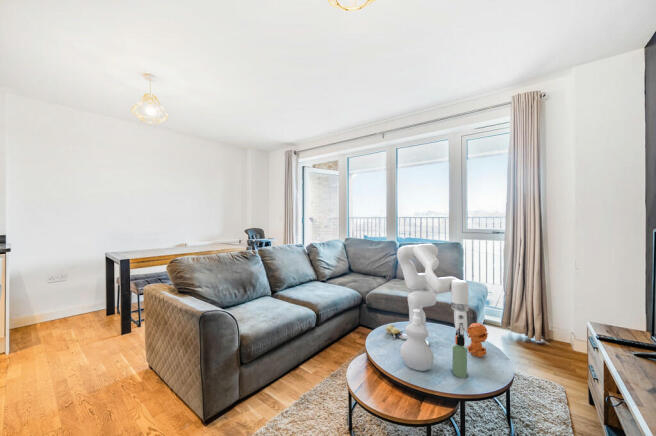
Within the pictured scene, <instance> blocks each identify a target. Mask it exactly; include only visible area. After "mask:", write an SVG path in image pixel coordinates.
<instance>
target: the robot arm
mask: <svg viewBox="0 0 656 436" xmlns="http://www.w3.org/2000/svg"><path fill="white" fill-rule="evenodd" d="M438 255H439V249H438V247H437V246H436V245H435V244H433V243H420V244H408V245H403V246H400V247H398V249H397V251H396V258H397V262H398V264H399V266H400V268H401V271H402V275H403V279H404V283H405V285H406V287H407V289H409V290H411V291H412V292H410V293H409V294H408V295H407V305H408V318H409V319H408V321H409V322H408V325H409V324H412V322H413V316H414V312H413V310H414V309H420V312H419V317H421V325H422V326H424V327H425V328H426V329H427V315H426V313H425V310H424V309H423V308H427V307H434V306H435V305H437V295H436V293H438V294H442V293H443V294H444V293H450V297H451V299H450V300H451V301H450V302H451V303H450V304H451V305H450V307H451V310H453V322H454V327H455V336H456V335H458V336H457V345H460V346H465V344H464V338H465V333H467V329H468V315H467V312H469V283H468V282H467V281H466V280H463V279H459V278H457V277H455V276H443V277H438V275H436V274H435V272H434V271H435V270H437V268H438V267H439V265H440V261H439V259H438V258H437V257H438ZM412 259H413V260H414V259H417V261H419V262H420V264H421V266H422V267H423V268H424V272H420V273H419V272H418V270H417V267H416V265H415V263H413V261H412ZM413 290H415V291H413ZM417 290H418V291H417ZM401 334H402V337H403V339H402V340H404V339H406V340H407V339H408V335H407V333H401ZM426 342H427V344H428V346H429V345H430V344H429V341H428V340H426Z"/></svg>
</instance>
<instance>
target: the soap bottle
mask: <svg viewBox="0 0 656 436" xmlns="http://www.w3.org/2000/svg"><path fill="white" fill-rule="evenodd" d="M413 312H414V316H413V322H412V324H409V323H408V324H407V325H406V326H405V329H404V332H405V334H406V335H408V339H406V340H404V342H403V343H402V344H401V346H400V350H399V354H400V358H401V360H402V361H403V363H404V364H405V366H406V367H408V368H410V369H412V370H415V371H419V372H425V371H428V370H429V369H431V368H432V367H433V365H434V360H435V357H434V352H433V351H434V350H432V348H431V346H429V345H428V344H427V342H426V341H427V338H428V337H429V330H428V328H427V327H426V328H425V327H424V326H422V325H421V317H419V312H420V309H414V310H413Z"/></svg>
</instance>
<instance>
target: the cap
mask: <svg viewBox="0 0 656 436" xmlns="http://www.w3.org/2000/svg"><path fill="white" fill-rule="evenodd" d="M457 336H458V335H456V334H455V337H454V339H455V341H454V344H457ZM465 339H466V338H465V337H464V345H466V344H465V343H466V340H465Z"/></svg>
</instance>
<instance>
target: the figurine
mask: <svg viewBox="0 0 656 436" xmlns="http://www.w3.org/2000/svg"><path fill="white" fill-rule="evenodd" d="M384 329H385V332H386V333H387V334H388V335H393V338H394V339H395V338H397V339H401V340H404V341H406V340H407V339H403V337H402V334H404V331H403V330H400V329H399V328H396V326H395V325H394V324H388V325H386V326H385V327H384Z"/></svg>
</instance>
